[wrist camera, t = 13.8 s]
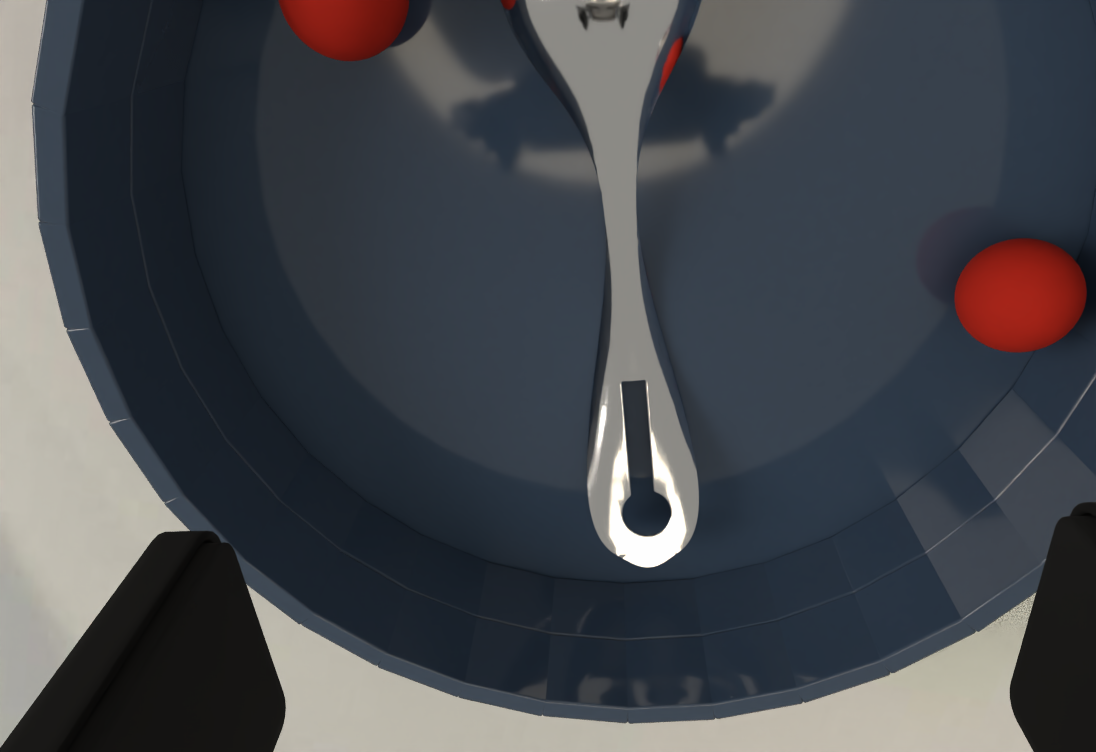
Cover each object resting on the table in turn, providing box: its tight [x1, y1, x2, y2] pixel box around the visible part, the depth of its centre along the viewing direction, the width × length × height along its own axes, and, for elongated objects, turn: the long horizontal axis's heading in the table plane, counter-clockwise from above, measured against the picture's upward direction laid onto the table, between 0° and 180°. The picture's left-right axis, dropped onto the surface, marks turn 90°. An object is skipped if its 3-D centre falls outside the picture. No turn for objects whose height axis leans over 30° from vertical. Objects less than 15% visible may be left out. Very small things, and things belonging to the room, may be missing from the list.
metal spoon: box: [501, 0, 701, 567], centre depth 21 cm, size 20×4×5 cm
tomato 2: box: [954, 238, 1087, 352], centre depth 21 cm, size 3×3×3 cm
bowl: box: [31, 0, 1096, 724], centre depth 20 cm, size 26×26×6 cm
